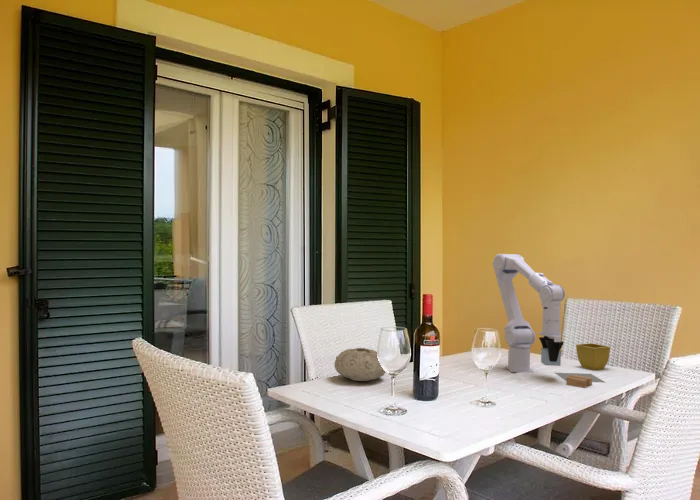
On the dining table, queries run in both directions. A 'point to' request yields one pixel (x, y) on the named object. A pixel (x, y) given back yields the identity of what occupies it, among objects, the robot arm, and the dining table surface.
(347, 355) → the grey rounded lump
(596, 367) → the flower pot
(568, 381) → the walnut block
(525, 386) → the dining table surface
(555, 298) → the robot arm
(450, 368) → the dining table surface
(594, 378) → the letter mat
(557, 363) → the blue cube
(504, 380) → the dining table surface
